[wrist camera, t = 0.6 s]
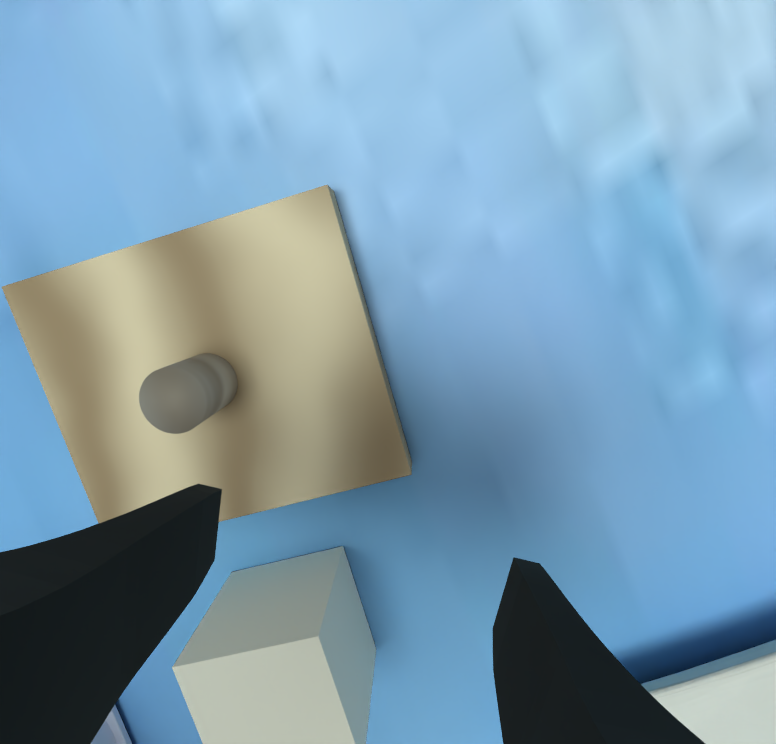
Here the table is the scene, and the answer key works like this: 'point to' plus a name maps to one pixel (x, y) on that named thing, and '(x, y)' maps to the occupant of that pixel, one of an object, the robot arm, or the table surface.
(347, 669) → the pale matte cube
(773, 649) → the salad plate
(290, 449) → the plate
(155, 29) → the table surface
